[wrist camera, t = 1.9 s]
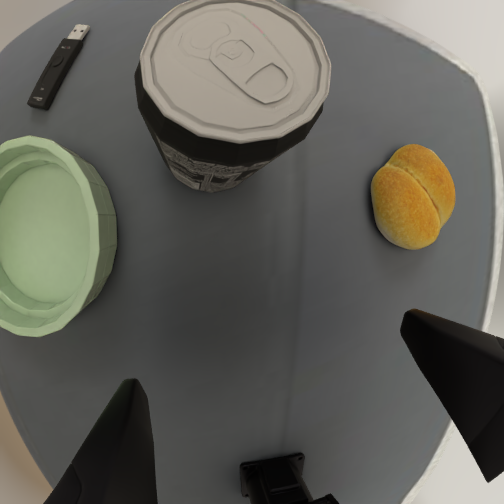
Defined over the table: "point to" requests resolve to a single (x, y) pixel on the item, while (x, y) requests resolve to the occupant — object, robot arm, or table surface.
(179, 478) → the table surface
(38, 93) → the usb flash drive
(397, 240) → the bread roll
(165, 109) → the beverage can
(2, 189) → the bowl
